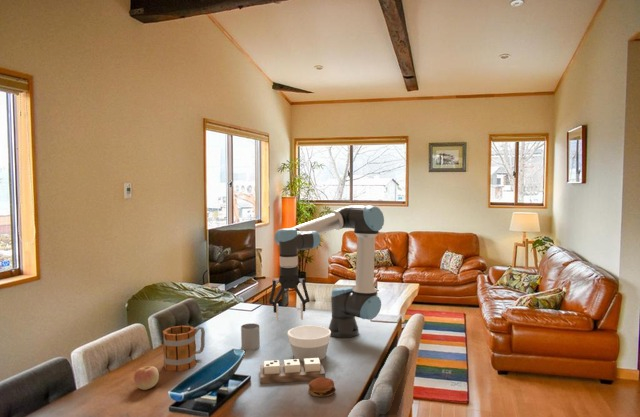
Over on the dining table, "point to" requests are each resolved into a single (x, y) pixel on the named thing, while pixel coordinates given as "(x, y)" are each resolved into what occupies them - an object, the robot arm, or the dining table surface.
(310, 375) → the board
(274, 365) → the tile three
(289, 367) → the tile two
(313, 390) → the burger
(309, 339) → the bowl
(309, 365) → the tile one
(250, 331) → the cup
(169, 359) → the mug
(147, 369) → the peach
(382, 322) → the dining table surface
